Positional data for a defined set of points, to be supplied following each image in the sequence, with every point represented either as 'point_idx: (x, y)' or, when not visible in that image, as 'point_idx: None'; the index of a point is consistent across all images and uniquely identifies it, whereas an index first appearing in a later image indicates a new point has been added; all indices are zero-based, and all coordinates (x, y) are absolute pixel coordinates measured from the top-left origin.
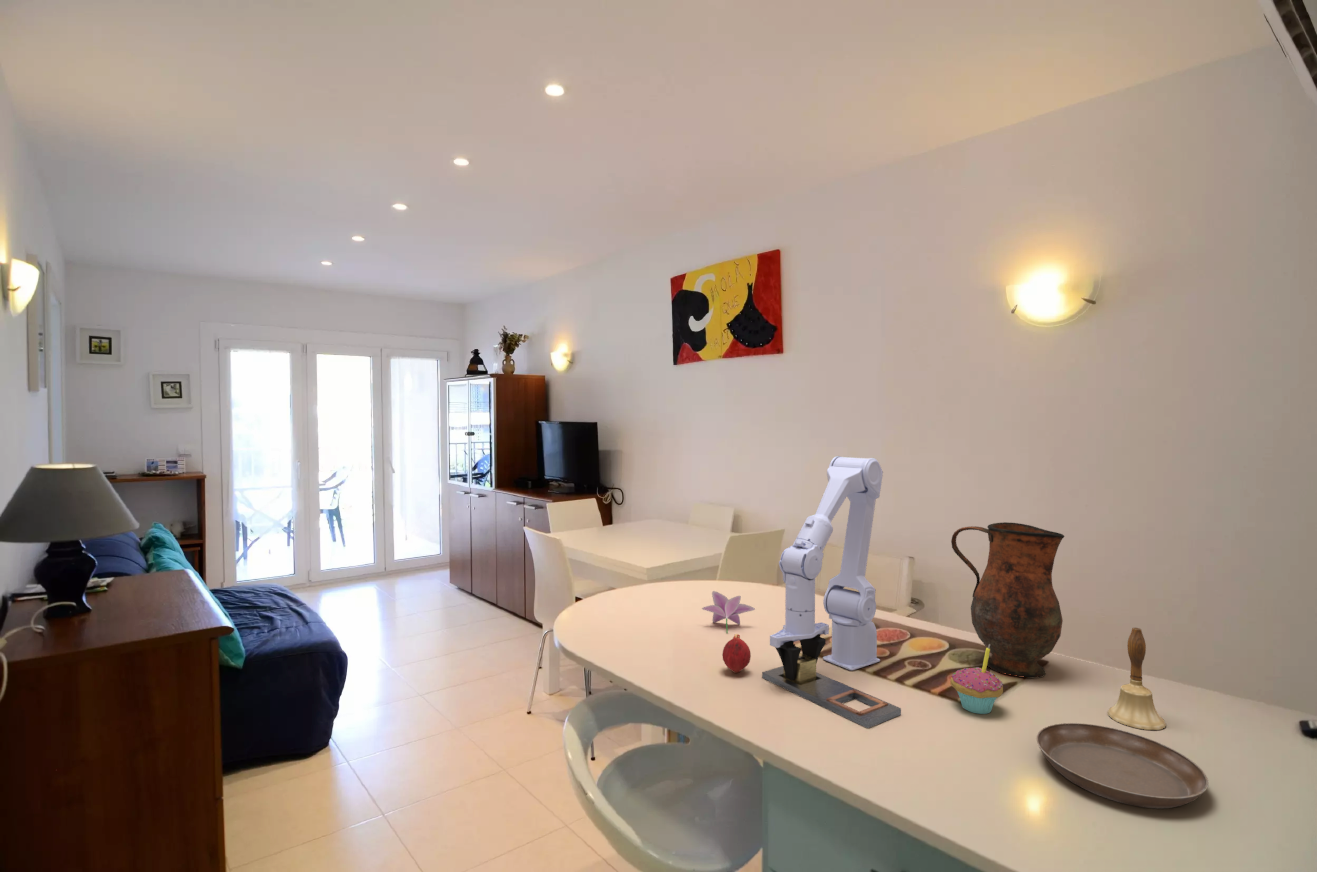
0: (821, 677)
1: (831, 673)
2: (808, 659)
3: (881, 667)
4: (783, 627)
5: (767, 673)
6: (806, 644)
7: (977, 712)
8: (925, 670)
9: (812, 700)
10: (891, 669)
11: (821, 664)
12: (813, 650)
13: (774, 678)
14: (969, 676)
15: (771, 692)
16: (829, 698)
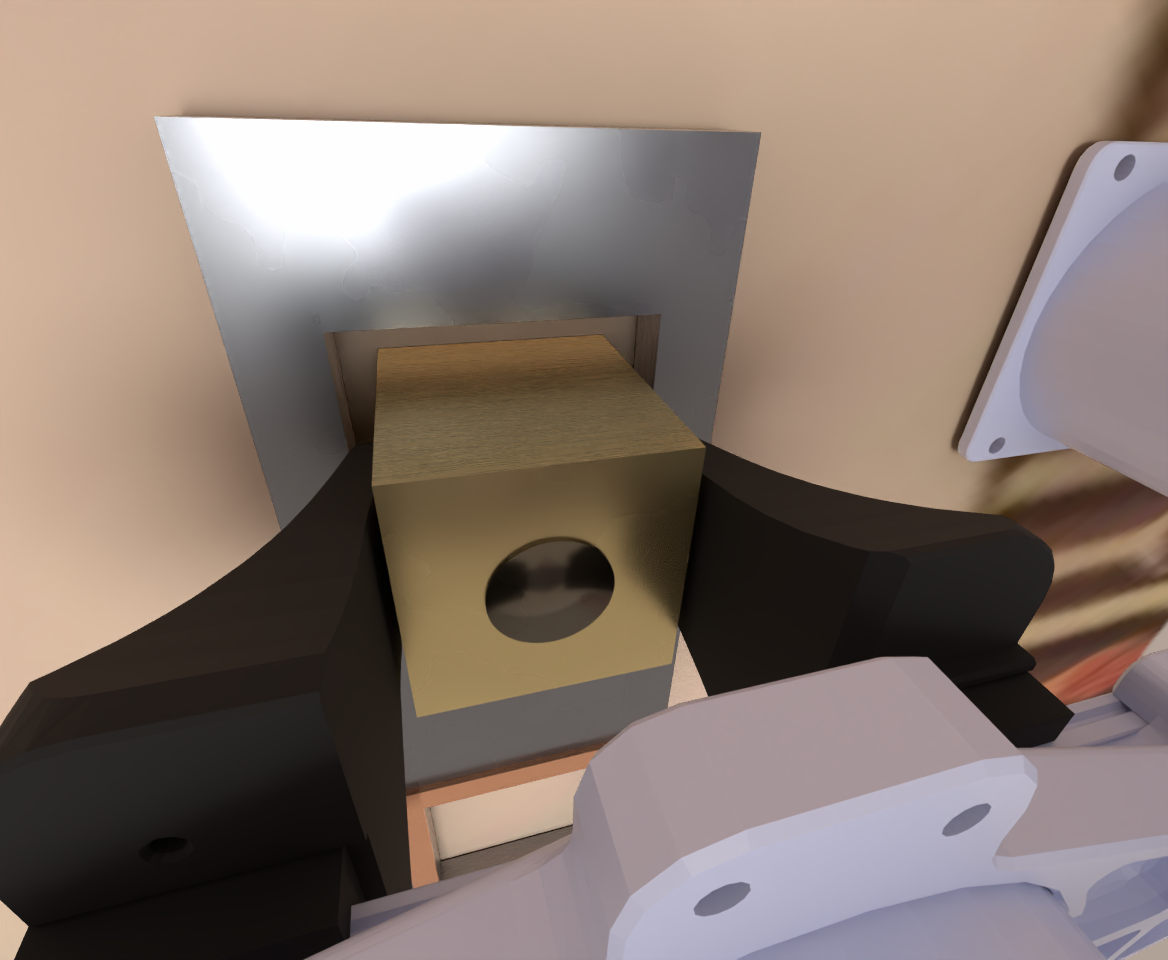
0: None
1: (841, 412)
2: (600, 646)
3: (1094, 480)
4: (589, 869)
5: (213, 210)
6: (770, 635)
7: None
8: (1132, 586)
9: None
10: (1085, 521)
11: (970, 224)
12: (725, 687)
13: (233, 367)
14: None
15: (94, 489)
16: (413, 799)
